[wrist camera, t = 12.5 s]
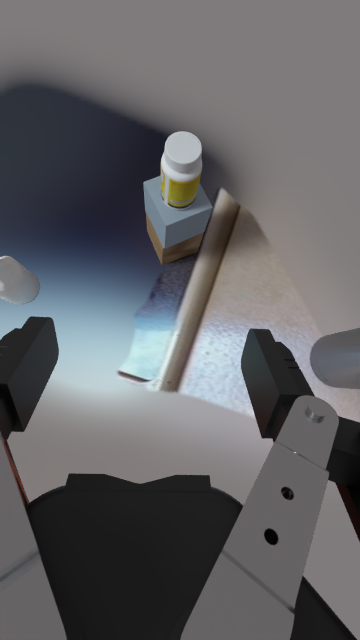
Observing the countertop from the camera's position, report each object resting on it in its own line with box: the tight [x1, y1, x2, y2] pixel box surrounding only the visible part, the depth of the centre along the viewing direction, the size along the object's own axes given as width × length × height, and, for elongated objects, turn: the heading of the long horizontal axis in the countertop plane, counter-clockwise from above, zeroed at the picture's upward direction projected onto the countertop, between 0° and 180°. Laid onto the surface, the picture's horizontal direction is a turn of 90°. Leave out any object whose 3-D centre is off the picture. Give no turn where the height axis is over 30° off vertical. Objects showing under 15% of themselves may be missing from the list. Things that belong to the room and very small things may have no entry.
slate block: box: [144, 176, 213, 249], centre depth 42 cm, size 7×7×7 cm
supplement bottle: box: [161, 132, 202, 210], centre depth 35 cm, size 5×5×8 cm
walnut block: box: [146, 213, 204, 265], centre depth 49 cm, size 7×7×7 cm
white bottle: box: [0, 256, 40, 304], centre depth 43 cm, size 6×12×6 cm
